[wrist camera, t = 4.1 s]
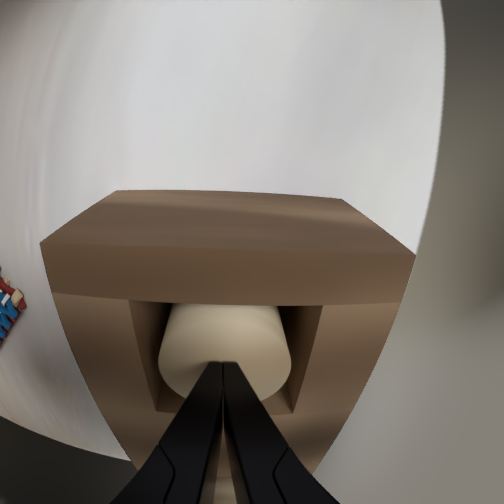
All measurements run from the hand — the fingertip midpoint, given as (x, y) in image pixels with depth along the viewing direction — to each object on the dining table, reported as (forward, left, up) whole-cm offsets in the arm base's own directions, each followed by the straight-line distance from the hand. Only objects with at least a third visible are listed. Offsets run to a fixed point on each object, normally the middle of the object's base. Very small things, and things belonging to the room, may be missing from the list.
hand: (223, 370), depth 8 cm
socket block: (-6, -2, -6) cm, 8 cm away
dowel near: (0, 0, -6) cm, 6 cm away
